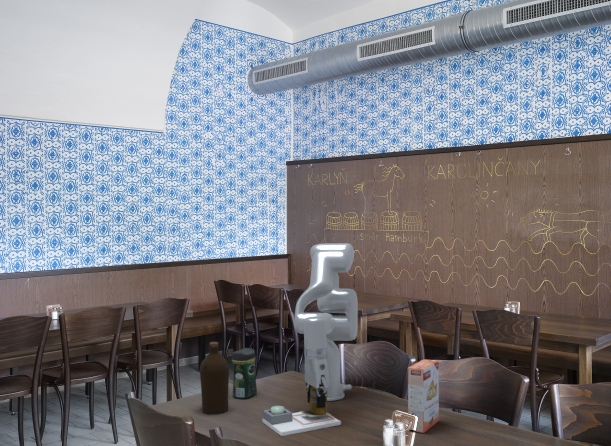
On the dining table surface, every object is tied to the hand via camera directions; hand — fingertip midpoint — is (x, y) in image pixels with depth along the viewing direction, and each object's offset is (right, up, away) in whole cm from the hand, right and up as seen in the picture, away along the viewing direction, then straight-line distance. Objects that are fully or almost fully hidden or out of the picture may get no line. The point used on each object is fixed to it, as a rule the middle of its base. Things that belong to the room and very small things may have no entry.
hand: (316, 404), depth 216 cm
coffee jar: (-28, -6, +32) cm, 43 cm away
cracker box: (+36, -5, -8) cm, 37 cm away
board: (-5, -6, -2) cm, 8 cm away
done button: (-13, -4, -2) cm, 14 cm away
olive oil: (-37, -7, +15) cm, 40 cm away
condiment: (0, -3, 0) cm, 3 cm away
